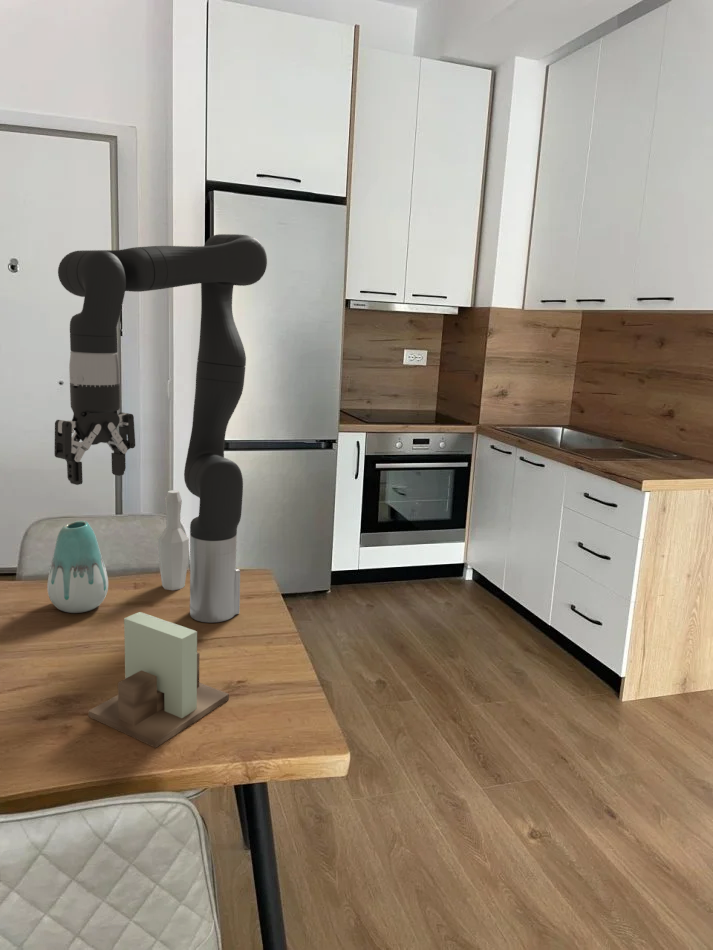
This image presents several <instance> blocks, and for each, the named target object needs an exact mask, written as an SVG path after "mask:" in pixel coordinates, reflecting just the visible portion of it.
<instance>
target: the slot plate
mask: <svg viewBox="0 0 713 950" xmlns="http://www.w3.org/2000/svg"><path fill="white" fill-rule="evenodd" d="M117 693H118V694H117V695H115V696H113V697H111V698H109V699H107V700H105V701H103V702H102V703H100V704H98V705H96V706H95V707H92V708H91V709H89V710H88V717H89V718H90V719H93V720H94V721H97V722H100V724H104V725H106V726H108V727H110V728H112V729H115V730H116V731H119V732H121V733H123V734H126V735H127V736H129V737H132V738H134V739H136V740H138V741H140V742H142V743H145V744H147V745H149V746H151V747H153V748H155V749H156V748H158V747H160V746H161V745H162V744H164V743H166V742H167V741H168V740H169V739H172V738H173V737H174V736H176V735H177V734H179V733H180V732H182V731H183V730H185V729H186V728H188V727H189V726H191V725H193V724H194V723H195V722H197V721H198V720H200V719H201V718H203V717H205V716H206V715H207V714H209V713H211V712H212V711H214V710H216V708H218V707H220V706H222V704H225V703H226V702H227V701H228V700H229V698H230V697H229V696H230V694H229V693H228V692H225V691H222V690H221V689H217V688H215V687H212V686H209V685H207V684H204V683H202V682H200V652H198V651H197V709H196V710H194V711H193V712H191V713H190V714H188V715H187V716H185V717H183V718H180V717H178V716H175V715H173V714H171V713H168V712H166V711H165V707H164V693H163V692H160V691H158V690H157V676H155V675H152V674H150V673H147V672H144V671H142V670H141V671H139V672H137V673H135V674H133V675H131V676H130V677H128V678H126V679H125V678H124V679H122V680H121V681H118V682H117Z"/></svg>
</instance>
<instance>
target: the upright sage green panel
mask: <svg viewBox="0 0 713 950" xmlns="http://www.w3.org/2000/svg"><path fill="white" fill-rule="evenodd" d="M123 624H124V625H123V627H124V628H123V630H124V636H123V637H124V677H125V678H124V679H126V678H128V677H130V676H131V675H133V674H135V673H137V672H139V671H141V670H142V671H144V672H147V673H150V674H152V675H155V676H157V690H158V691H160V692H163V693H164V707H165V711H166V712H168V713H171V714H173V715H175V716H178V717H180V718H183V717H185V716H187V715H188V714H190V713H191V712H193V711H194V710H196V709H197V652H198V630H197V631H196V630H195V629H191V628H189V627H186V626H184V625H183V626H182V625H180V624H176V623H175V622H172V621H168V620H165V619H162V618H159V617H158V616H157V617H156V616H153V615H150V614H147V613H145V612H142V611H139V612H136V613H133V614H131V615H129V616H126V617H124V618H123Z"/></svg>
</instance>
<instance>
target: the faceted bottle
mask: <svg viewBox="0 0 713 950" xmlns="http://www.w3.org/2000/svg"><path fill="white" fill-rule="evenodd" d="M165 495H166V496H165V499H164V506H165V514H166V515H165V520H166V521H165V523H166V524H165V525H166V527H165V528H164V530H163V531H162V532H161V534H160V535H159V536H158V538H157V558H158V566H159V572H160V579H161V586H162V587H163V589H164V590H168V591H178V590H181V589H182V588H185V585H186V579H187V571H188V565H189V559H190V537H188V536H187V534H186V533H185V531H184V530H183V529H182V528H181V512H182V504H183V502H182V496H181V494H180V491H179V490H175V489H172V490H168V491H167V492H166V494H165Z"/></svg>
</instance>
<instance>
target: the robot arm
mask: <svg viewBox="0 0 713 950" xmlns="http://www.w3.org/2000/svg"><path fill="white" fill-rule="evenodd" d="M204 243H205V244H204V245H201V246H189V245H188V246H187V245H186V246H185V245H181V246H180V245H152V246H151V245H150V246H148V245H147V246H138V247H137V246H135V247H129V248H124V249H123V248H122V249H115V250H113V249H108V250H107V249H102V250H101V249H99V250H98V249H97V250H96V249H93V250H91V249H90V250H75V251H72V252H70V253H68V254H66V255H65V256H64V257H63V258H62V259H61V261H60V262H59V265H58V269H57V274H58V279H59V283H60V284H61V285H62V287H63V288H64V289H65V290H66V291H67V292H69V293H70V294H71V295H74V296H77V297H81V298H83V305H82V308H81V311H80V312H79V313H75V314H74V315H73V316H71V318H70V322H69V343H70V357H69V367H68V369H69V371H68V372H69V398H70V399H69V400H70V408H71V410H72V412H73V415H72V419H71V420H63V419H56V421H55V422H54V457H55V458H58V459H61V460H65V461H66V471H67V475H66V477H67V480H68V481H69V483H70V484H71V485H77V486H79V485H82V484H83V461H81V460H82V458H83V456H84V455H85V453H86V451H89V450H90V447H91V446H95V445H98V444H100V443H102V444H107V445H108V447H109V448H110V450H112V452H111V455H110V456H111V473H112V475H114V476H118V477H119V476H124V474H125V472H126V465H127V463H126V453H127V452H128V451H129V450H131V449H134V448H135V447H136V435H135V433H136V432H135V420H134V417H135V416H134V414H132V413H127V412H122V411H121V412H118V411H119V410H120V408H121V385H120V384H121V383H120V381H121V380H120V375H121V373H120V361H119V355H118V329H117V328H118V323H119V319H120V316H121V312H122V308H123V304H124V298H125V292H137V293H139V292H150V291H156V290H157V291H158V290H165V289H170V288H176V287H182V286H183V287H184V286H185V287H186V286H191V285H198V284H200V292H201V293H200V294H201V295H200V297H201V301H200V302H201V306H200V307H201V308H200V311H201V312H200V327H199V329H200V330H199V344H198V345H199V346H198V351H197V352H198V353H197V358H196V359H197V361H196V373H195V392H194V399H193V401H194V402H193V403H194V404H193V411H192V412H193V415H192V427H191V433H190V440H189V443H188V448H187V454H186V458H185V465H184V472H183V477H184V483H185V486H186V488H187V490H188V491H189V492H190V493H191V494H192V495H193V496H196V497H197V498H199V506H198V510H199V511H198V516H197V517H195V518H193V519H192V520H191V522H190V524H189V525H190V526H189V528H190V529H189V534H190V535H189V616H190V617H191V618H192V619H194V621H198V622H202V623H220V622H225V621H228V620H230V619H232V618H233V617H235V616H236V615H238V614H240V607H241V606H240V604H241V601H240V599H241V594H240V593H241V570H240V569H239V568H237V551H238V549H237V543H238V541H237V539H238V526H239V524H240V522H241V520H242V519H241V518H242V508H243V496H244V495H243V494H244V481H243V480H244V478H243V474H242V470H241V468H240V466H239V465H238V464H237V463H236V462H234V461H233V460H231V459H228V458H226V457H225V443H226V431H227V428H228V426H229V421H230V420H231V418H232V416H233V414H234V413H235V410H236V408H237V406H238V403H239V401H240V399H241V397H242V395H243V390H244V387H245V386H244V385H245V375H246V366H247V365H246V364H247V357H246V351H245V348H244V344H243V341H242V338H241V336H240V333H239V331H238V328H237V325H236V323H235V320H234V319H235V318H234V313H233V294H234V286H238V287H242V286H243V287H247V286H251V285H254V284H256V283H258V282H259V281H260V280H261V279H262V278H263V276H264V275H265V273H266V270H267V267H268V257H267V252H266V249H265V247H264V245H263V244H262V243H261V242H260V241H259V240H258V239H257V238H255V237H254V236H250V235H247V234H239V233H238V234H231V233H230V234H226V233H225V234H223V233H222V234H219V233H217V234H213V235H212V236H210V237H208V239H207V240H206V241H205V242H204ZM117 427H118V430H117ZM72 434H73V435H72Z"/></svg>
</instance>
